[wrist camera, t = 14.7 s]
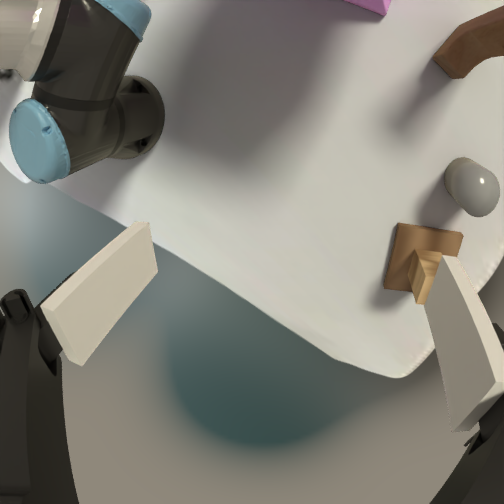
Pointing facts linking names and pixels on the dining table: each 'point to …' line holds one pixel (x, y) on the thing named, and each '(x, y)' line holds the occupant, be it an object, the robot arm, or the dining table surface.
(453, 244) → the walnut board
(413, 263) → the oak block
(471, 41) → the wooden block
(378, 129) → the dining table surface
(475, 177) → the grey dome cap
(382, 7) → the chair
